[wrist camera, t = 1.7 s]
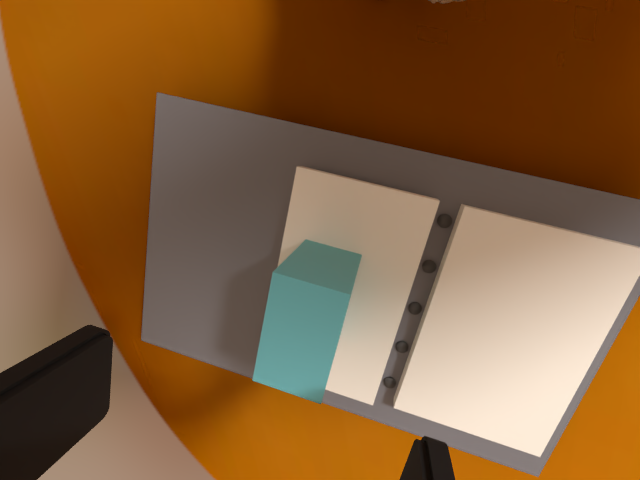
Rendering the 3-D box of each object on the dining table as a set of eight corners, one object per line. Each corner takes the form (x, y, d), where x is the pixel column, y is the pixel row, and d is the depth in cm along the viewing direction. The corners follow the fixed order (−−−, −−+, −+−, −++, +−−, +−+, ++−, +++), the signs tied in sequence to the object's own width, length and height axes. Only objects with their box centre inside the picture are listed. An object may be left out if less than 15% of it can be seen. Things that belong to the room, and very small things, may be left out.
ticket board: (660, 205, 16) (703, 213, 13) (527, 454, 20) (544, 490, 18) (174, 96, 19) (146, 89, 17) (155, 329, 24) (132, 346, 22)
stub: (437, 198, 16) (462, 222, 10) (373, 395, 19) (366, 491, 14) (300, 165, 17) (257, 171, 11) (263, 358, 20) (215, 434, 15)
